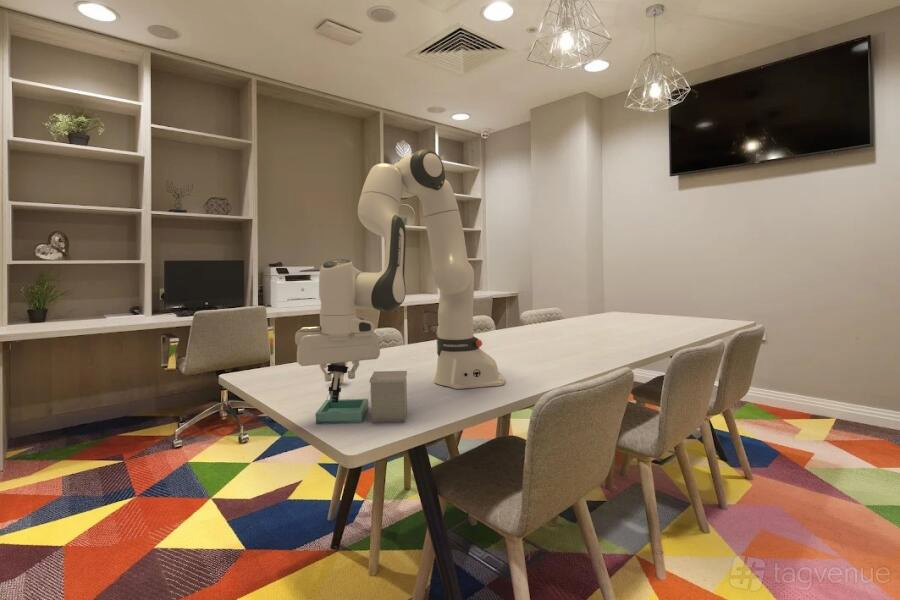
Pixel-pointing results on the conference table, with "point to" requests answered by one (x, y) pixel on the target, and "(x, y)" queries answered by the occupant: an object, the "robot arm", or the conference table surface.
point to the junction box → (388, 396)
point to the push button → (336, 379)
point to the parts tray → (342, 411)
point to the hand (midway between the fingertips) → (339, 379)
